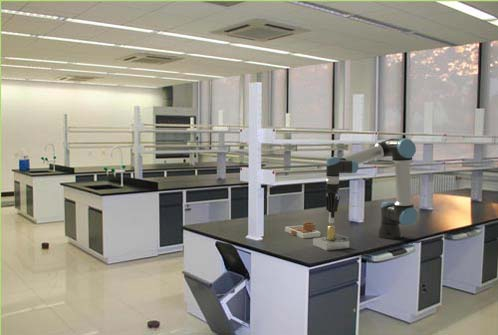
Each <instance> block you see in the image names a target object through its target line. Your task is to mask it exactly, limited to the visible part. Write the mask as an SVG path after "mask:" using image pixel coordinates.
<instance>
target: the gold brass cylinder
mask: <svg viewBox="0 0 498 335" xmlns="http://www.w3.org/2000/svg"><path fill="white" fill-rule="evenodd" d="M335 233H336V226H335V225H327V234H326V235H327V236H326V237H327V240H329V241H335Z"/></svg>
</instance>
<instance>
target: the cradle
mask: <svg viewBox="0 0 498 335" xmlns="http://www.w3.org/2000/svg"><path fill="white" fill-rule="evenodd" d="M294 229H303V224H302V225H292V226H291V225H290V226H284V232H286V233H288V234H291V230H294ZM294 231H296V232H297V236H296V237H298V238H301V239H308V238H321V231H318V230H316V229H315V230H312V232H311V233H302V232H299V231H297V230H294Z"/></svg>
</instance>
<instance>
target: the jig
mask: <svg viewBox="0 0 498 335" xmlns="http://www.w3.org/2000/svg"><path fill="white" fill-rule="evenodd" d="M312 238H313V239H312V245H313V246H314V247H317V248H319V249H323V250H324V251H335V250H341V249H349V248H350V237H348V236H346V235H343V234H341V233H340V234H339V233H336V232H335V241H329V240H327V236H323V237H321V236H320V237H312Z"/></svg>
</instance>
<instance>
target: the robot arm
mask: <svg viewBox="0 0 498 335" xmlns="http://www.w3.org/2000/svg"><path fill="white" fill-rule="evenodd" d="M416 150H417V147H416V145H415V143H414V142H413V141H412V139H408V138H403V137H402V138H389V139H386V140H383V141H381V142H378V143H375V144H374V146H372V147H368V148H366V149H363V150H360V151H356V152H355V153H352V154H351V153H350V154H348V155H346V156H343V157H339V156H338V157H336V156H330V157H327V159H326V164H325V165H326V176H325V177H326V178H325V179H326V181H325V182H326V184H325V190H326V193H324V194H323V195H324V198H325V199H324V200H325V207H326V208H325V209H326V211H328V224H335V213H337V212H338V208H339V202H340V199H341V196H340V195H338V191H339V190H340V184H339V183H340V174H355V173H357V172H358V170H359V165H360V164H363V163H366V162H369V161H373V160H375V159H377V158H379V159H383V158H386V157H387V158H388V157H390V158H392V162H393V163H394V166H395V168H394V170H395V173H394V174H395V196H396V197H395V198H396V201H383V202H382V203H381V206H380V225H379V229H378V231H377V237H378V238H383V239H388V240H390V239H392V240H396V239H397V240H398V239H402V237H403V235H402V231H401V227H400V225H401V226H407V227H409V226H413V224H414V223H416V221H417V220H418V216H419V215H418V214H419V213H418V211H417V210H416V208H415V207H414V202H413V201H412V200H411V198H412V196H411V194H412V193H411V164H410V163H411V162H412V161H413V157H414V155H415V154H416Z"/></svg>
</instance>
